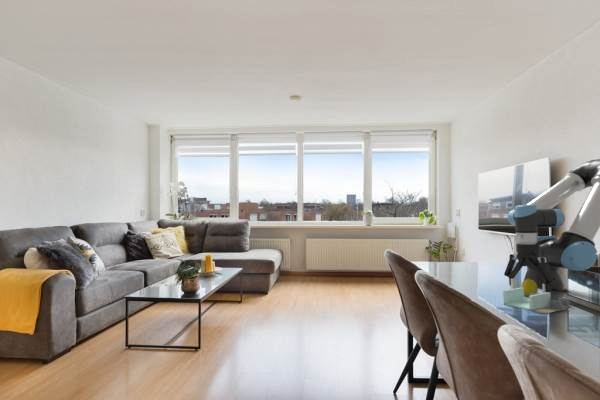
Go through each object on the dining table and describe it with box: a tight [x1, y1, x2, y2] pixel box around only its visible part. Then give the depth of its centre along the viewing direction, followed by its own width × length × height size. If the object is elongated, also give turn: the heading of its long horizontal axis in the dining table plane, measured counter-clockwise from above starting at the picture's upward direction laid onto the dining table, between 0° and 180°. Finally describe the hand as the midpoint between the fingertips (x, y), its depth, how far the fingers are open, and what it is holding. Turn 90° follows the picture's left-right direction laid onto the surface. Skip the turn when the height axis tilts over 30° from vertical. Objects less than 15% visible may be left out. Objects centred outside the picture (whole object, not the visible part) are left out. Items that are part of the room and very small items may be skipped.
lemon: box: [520, 278, 539, 297], centre depth 142 cm, size 6×6×8 cm
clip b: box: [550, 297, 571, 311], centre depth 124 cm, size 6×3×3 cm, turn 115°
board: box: [516, 305, 575, 315], centre depth 127 cm, size 17×14×1 cm
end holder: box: [502, 286, 551, 312], centre depth 128 cm, size 10×10×5 cm
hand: (529, 297), depth 142 cm, fingers open, 12 cm apart
